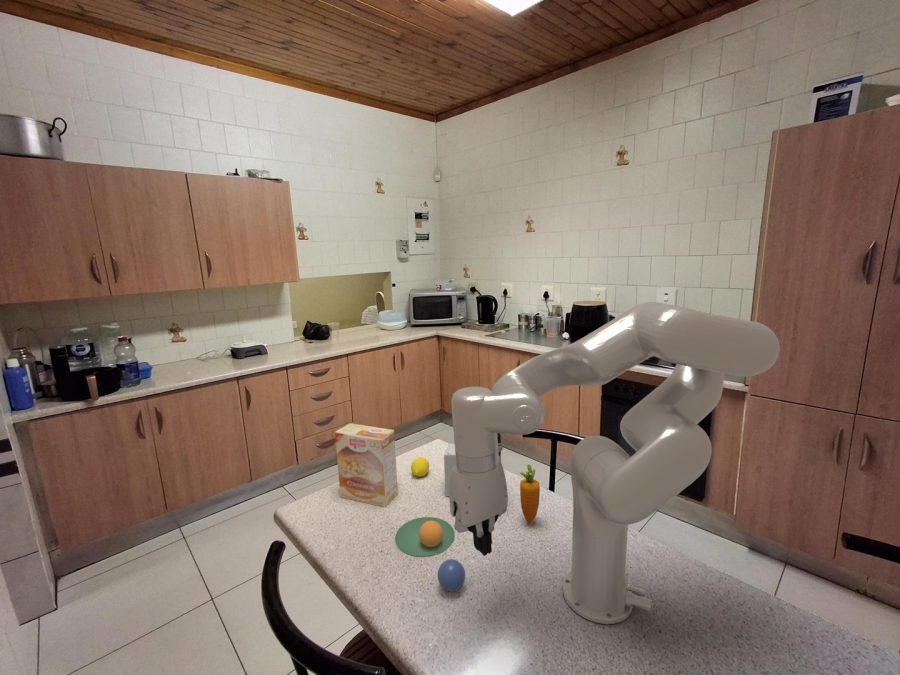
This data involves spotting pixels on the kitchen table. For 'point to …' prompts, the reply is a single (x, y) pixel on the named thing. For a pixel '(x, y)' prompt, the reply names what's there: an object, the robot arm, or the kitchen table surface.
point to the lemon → (420, 466)
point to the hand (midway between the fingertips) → (483, 549)
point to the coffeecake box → (367, 464)
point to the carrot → (529, 495)
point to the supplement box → (449, 466)
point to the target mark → (411, 542)
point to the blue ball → (451, 575)
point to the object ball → (430, 533)
